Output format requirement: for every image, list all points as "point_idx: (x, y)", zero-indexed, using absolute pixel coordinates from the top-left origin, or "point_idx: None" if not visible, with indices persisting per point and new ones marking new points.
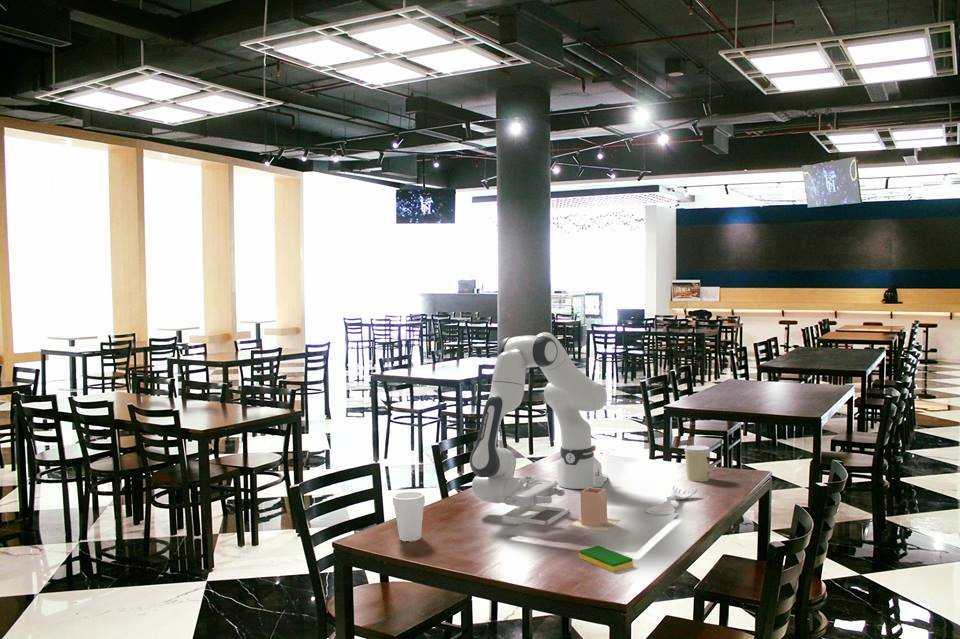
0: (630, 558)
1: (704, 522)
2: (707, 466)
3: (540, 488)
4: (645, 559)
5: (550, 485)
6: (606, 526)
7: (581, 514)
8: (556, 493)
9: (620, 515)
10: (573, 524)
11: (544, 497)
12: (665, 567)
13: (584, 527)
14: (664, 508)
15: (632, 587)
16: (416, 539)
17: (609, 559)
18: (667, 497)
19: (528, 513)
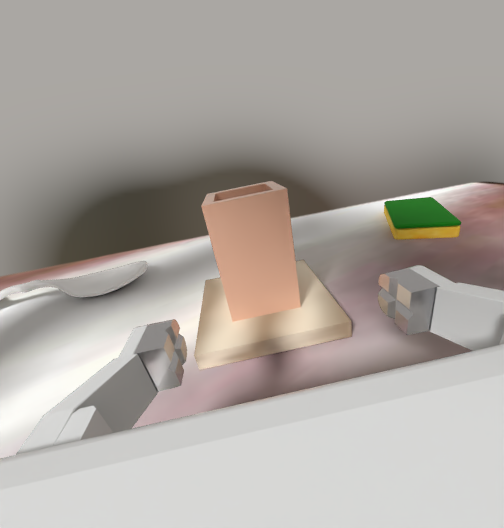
0: (388, 201)
1: (152, 249)
2: None
3: (324, 465)
4: (349, 217)
5: (23, 460)
6: None
7: (296, 275)
8: (124, 425)
9: (120, 327)
10: (321, 319)
11: (453, 285)
12: (350, 206)
13: (319, 289)
14: (88, 282)
15: (436, 193)
16: None
17: (424, 202)
18: (26, 287)
19: None
